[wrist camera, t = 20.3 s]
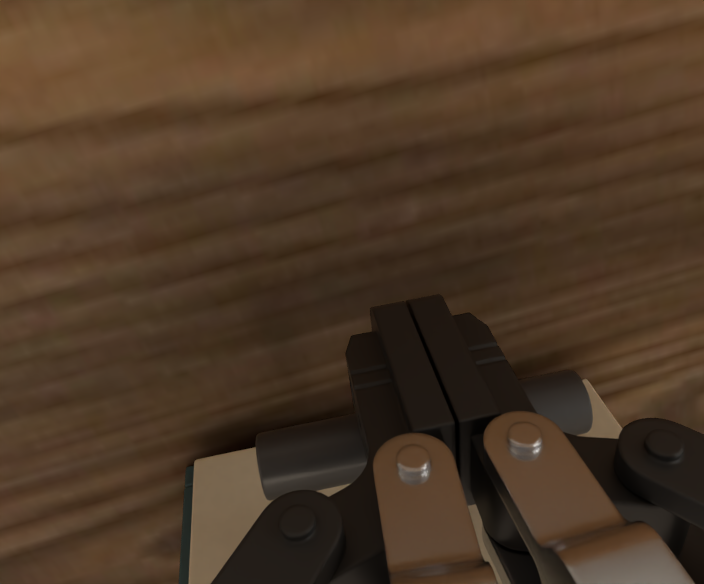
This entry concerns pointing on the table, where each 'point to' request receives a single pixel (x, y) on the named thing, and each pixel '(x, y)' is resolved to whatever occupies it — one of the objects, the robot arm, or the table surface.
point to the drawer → (338, 467)
